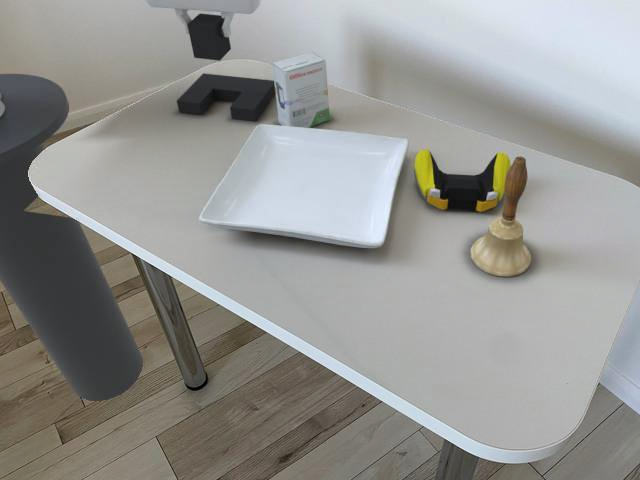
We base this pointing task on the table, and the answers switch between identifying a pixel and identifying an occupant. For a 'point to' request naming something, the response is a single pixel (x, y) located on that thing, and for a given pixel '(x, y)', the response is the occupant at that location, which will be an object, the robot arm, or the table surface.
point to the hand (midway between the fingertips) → (209, 34)
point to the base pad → (228, 95)
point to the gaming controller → (461, 184)
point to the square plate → (311, 185)
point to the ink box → (301, 90)
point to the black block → (208, 37)
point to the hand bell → (505, 232)
